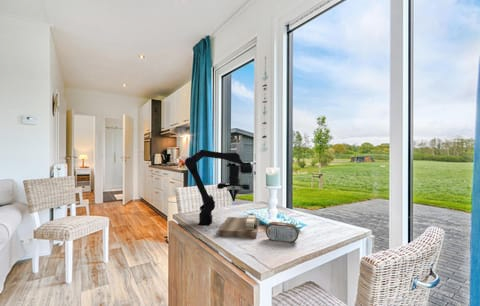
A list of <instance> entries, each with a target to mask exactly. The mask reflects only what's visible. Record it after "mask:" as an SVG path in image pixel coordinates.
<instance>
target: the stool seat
mask: <svg viewBox="0 0 480 306" xmlns="http://www.w3.org/2000/svg"><path fill="white" fill-rule="evenodd" d="M247 218H248V217H239V216H238V217H234V216H227V217H226V219H225V220H224V222H223V224H222V225H221V227H220V228H219V230H218V237H221V238H222V237H225V238H239V239H241V238H242V239H254V240H255V239H257V237H258V236H257V235H258V231H259V228H260V218H257V217H256V221H255V223H254V229H253V230H246V221H247Z"/></svg>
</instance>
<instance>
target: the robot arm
mask: <svg viewBox="0 0 480 306" xmlns="http://www.w3.org/2000/svg"><path fill="white" fill-rule="evenodd" d="M203 158H212V159H220V160H225V161H227V164H225V167H228V184H227V183H226V182H219V183H217V186H216V189H217V190H223V189H224V188H226V191H228V192H229V195H230V196H231V199H232V202H235V201H236V197H237V195H238V192H240V191H241V189H243V190H244V191H245V190H247V191H248V190H250V189H251V184H250V183H247V182H246V183H244V182H243V184H241V179H240V174H242V175H246V174H248V175H249V174H252V172H253V167H252V164H251V163H252V162H250V161H247V162H244V161H242V159H241V155H240V154H239V153H238V152H220V151H219V152H218V151H213V150H212V151H211V150H207V149H206V150H205V149H200V150H198V152H196V153H194V154H193V155H191V156H189V157H186V158H185V159H184V165H185V167H186V168H187V169H188V171H189V173H190V174H191V176H192V178H193V180H194V183H195V185H196V187H197V189H198V191H199V195H200V197H201V201H202V205H201V206H200V207H199V211H200V212H199V216H198V217H199V218H198V219H199V223H198V226H211V224H213V214H212V212H213V211H214V210H215V208H216V201H215V200H214V197H213V195H212V194H209V193H208V191H207V189H206V187H205V185H204V182H203V181H202V178H201V176H200V174H199V171H198V167H197V163H198V162H199V161H200V160H202V159H203Z"/></svg>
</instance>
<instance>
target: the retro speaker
mask: <svg viewBox="0 0 480 306" xmlns="http://www.w3.org/2000/svg"><path fill="white" fill-rule="evenodd" d="M265 235H266V237H267V238H268V239H269V240H270V241H273V242H281V243H288V244H293V243H294V242H296V241H297V240H298V239H299V235H300V232H299V229H298V227H297V226H296V225H295V224H293V223H288V222H279V221H272V222H269V223H268V224H267V225H266V227H265Z"/></svg>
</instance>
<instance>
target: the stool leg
mask: <svg viewBox="0 0 480 306" xmlns="http://www.w3.org/2000/svg"><path fill="white" fill-rule="evenodd" d="M246 218H247V221H246V230H253V229H254V223H255V221H256V218H257V217H256V213H253V212H251V213H248V216H247V217H246Z"/></svg>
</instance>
